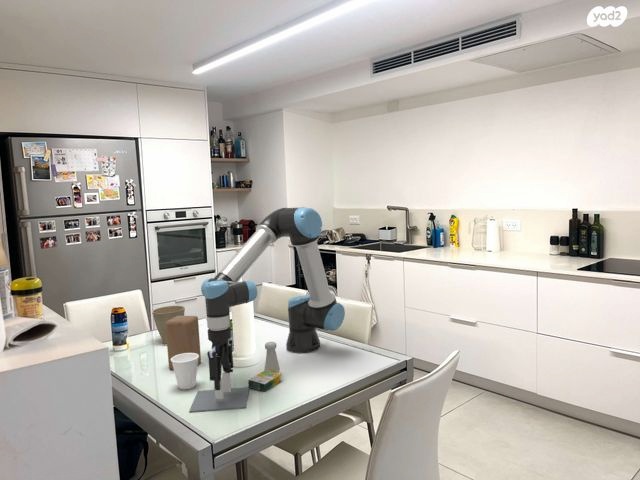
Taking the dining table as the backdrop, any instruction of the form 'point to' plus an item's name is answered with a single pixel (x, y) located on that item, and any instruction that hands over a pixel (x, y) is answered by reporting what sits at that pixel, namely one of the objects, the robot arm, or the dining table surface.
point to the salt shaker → (271, 358)
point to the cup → (185, 369)
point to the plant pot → (166, 318)
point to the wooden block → (182, 337)
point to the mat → (220, 400)
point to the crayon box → (264, 380)
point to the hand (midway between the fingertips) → (223, 394)
